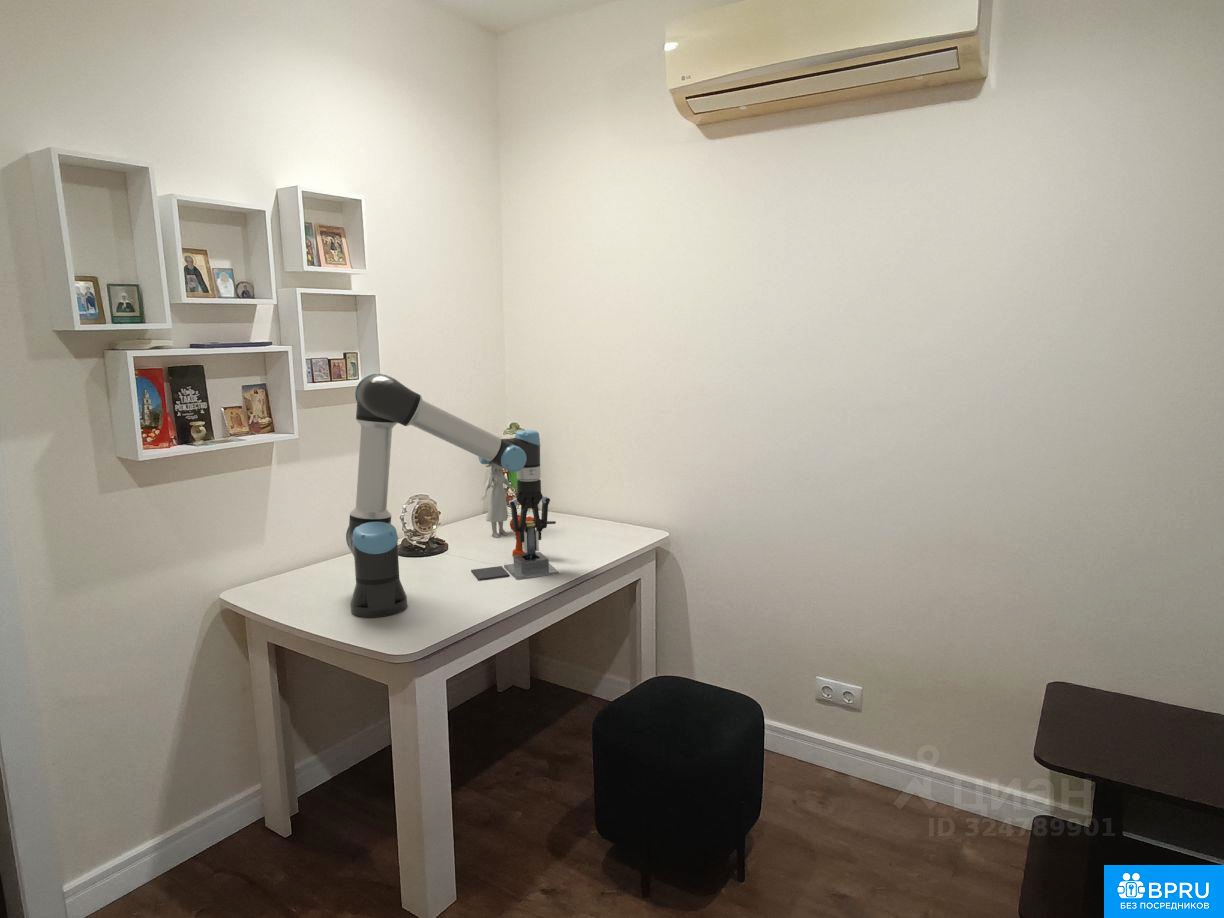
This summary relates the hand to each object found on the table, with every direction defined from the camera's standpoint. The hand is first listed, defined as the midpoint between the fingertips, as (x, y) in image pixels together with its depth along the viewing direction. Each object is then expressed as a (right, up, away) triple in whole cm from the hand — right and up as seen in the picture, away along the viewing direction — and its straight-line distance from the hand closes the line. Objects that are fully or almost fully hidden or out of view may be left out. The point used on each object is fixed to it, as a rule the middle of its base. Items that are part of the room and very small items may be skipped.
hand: (530, 550), depth 245 cm
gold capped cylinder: (0, -5, +1) cm, 5 cm away
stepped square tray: (0, -7, +1) cm, 7 cm away
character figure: (-17, 0, +45) cm, 48 cm away
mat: (-13, -7, -2) cm, 15 cm away
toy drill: (-1, -5, +15) cm, 16 cm away
